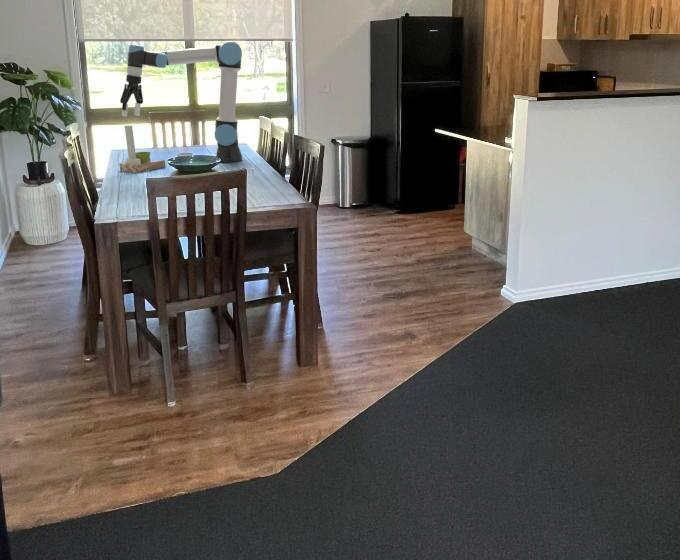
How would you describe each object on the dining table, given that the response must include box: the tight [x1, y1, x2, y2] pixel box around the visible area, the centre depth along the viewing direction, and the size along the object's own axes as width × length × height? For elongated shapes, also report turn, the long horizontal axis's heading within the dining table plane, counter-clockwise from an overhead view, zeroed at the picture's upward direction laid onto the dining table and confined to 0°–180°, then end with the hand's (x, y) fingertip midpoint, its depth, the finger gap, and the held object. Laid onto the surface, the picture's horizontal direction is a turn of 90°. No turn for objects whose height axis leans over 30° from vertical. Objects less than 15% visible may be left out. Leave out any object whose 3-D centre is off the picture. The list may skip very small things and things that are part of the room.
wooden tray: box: [118, 159, 167, 173], centre depth 402 cm, size 15×19×4 cm
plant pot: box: [135, 151, 152, 164], centre depth 401 cm, size 9×9×9 cm
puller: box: [124, 124, 141, 165], centre depth 395 cm, size 11×2×24 cm, turn 49°
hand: (130, 116), depth 392 cm, fingers open, 13 cm apart
